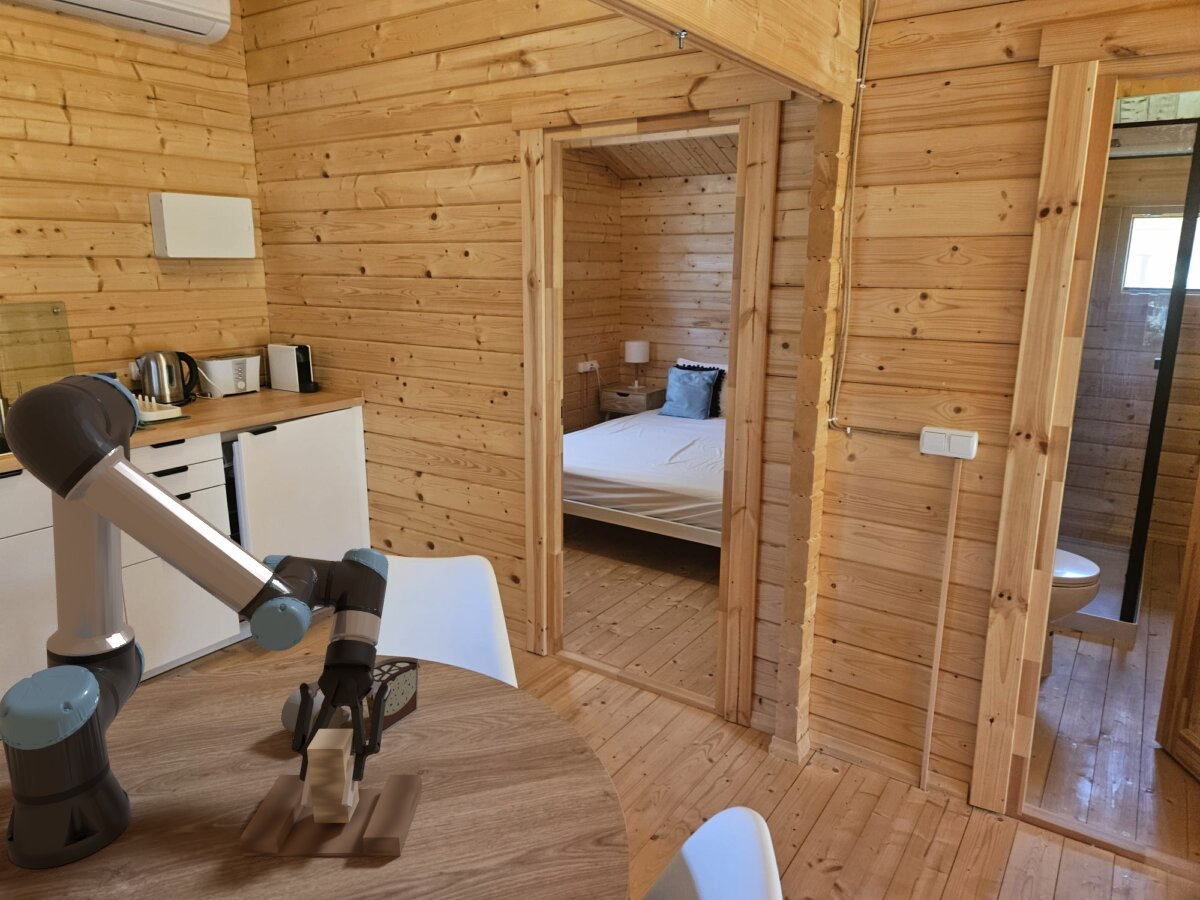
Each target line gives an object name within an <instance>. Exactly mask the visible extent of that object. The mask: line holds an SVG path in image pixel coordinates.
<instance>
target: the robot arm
mask: <svg viewBox="0 0 1200 900" xmlns="http://www.w3.org/2000/svg"><path fill="white" fill-rule="evenodd" d="M139 421H140V408H139V404H138V401H137V400H136V397H134V394H133V393H132V392H131V391H130V390H129V389H128V388H127V387H126V386H125V385H123V384H122V383H121V382H119V381H118V380H116V379H115V378H113V377H110V376H107V375H103V374H96V373H86V374H85V373H84V374H72V375H68V376H65V377H63V378H62V379H59V380H57V381H54V382H51V383H48V384H44V385H40V386H37V387H34V388H32V389H30V390H28V391H25V392H24V393H22V394H21V395H20V396H19V397H17V398H16V399H15V400H14V402H13V403H12V404H11V406H10V407H9V409H8V410H7V414H6V417H5V419H4V424H3V425H4V426H3V428H4V437H5V440H6V444H7V445H8V448H9V450H10V452H11V453H12V454H13V456H14V457H15V458H16V460H17V461H18V462H19V463H20V464H21V466H22V467H23V468H24V469H25V470H26V471H27V472H29V473H30V474H31V475H32V476H33V477H34V478H35V479H37V480H38V481H39V482H41V483H42V485H44V486H46V487H47V488H48V489H49V490H51V508H52V509H51V510H52V528H53V529H52V530H53V534H52V535H53V550H54V552H53V553H54V554H53V555H54V573H55V575H54V577H55V591H56V592H55V594H56V595H55V598H56V599H55V600H56V614H57V616H56V617H57V630H56V631H54V633H52V634H51V635H50V636H49V637H48V638H47V640H46V643H45V644H46V645H45V647H46V665H47V668H45V669H42V670H39V671H37V672H34V673H33V674H32V675H31V677H24V678H22V679H21V680H19V681H18V682H16V683H15V684H13V685H12V686H11V687H10V688H9V689H8V690H7V691H6V692H5V693H4V695H3V696H2V698H1V699H0V738H1V740H2V742H1V743H2V746H3V751H4V755H5V761H6V765H7V766H6V767H7V771H8V772H7V773H8V775H9V781H10V786H11V791H12V796H13V803H12V807H11V811H10V816H9V821H8V826H7V828H6V829H7V830H6V835H5V845H6V849H7V855H8V858H9V860H10V861H11V862H12V863H13V864H15V865H16V866H19V867H22V868H26V869H27V868H28V869H47V868H54V867H59V866H62V865H66V864H70V863H73V862H76V861H78V860H81V859H83V858H86V857H88V856H91V855H92V854H94V853H96V852H98V851H100V850H101V849H103V848H105V847H106V846H107V845H109V844H110V843H112V842H113V841H115V839H117V838H118V837H119V836H120V835H121V834H122V833H123V832H124V830H125V829H126V828H127V826H128V825H129V823H130V821H131V818H132V808H131V801H130V797H129V795H128V793H127V792H126V791H125V789H123V788H122V786H121V784H120V782H119V781H118V779H117V777H116V775H115V774H114V773H113V771H112V768H111V764H110V759H109V752H108V745H107V744H108V743H107V739H106V738H107V737H106V734H107V731H108V729H109V728H110V726H111V725H112V723H113V722H114V720H115V719H116V717H117V716H118V714H119V713H120V712H121V710H122V709H123V707H124V706H125V704H126V703H128V701H129V699H130V698H131V697H132V696H133V695H134V694H135V692H136V691H137V689H138V688H139V685H140V682H141V681H142V678H143V675H144V671H145V668H146V667H145V666H146V661H145V659H146V658H145V654H144V652H143V649H142V646H141V645H140V644H139V642H137V641H135V640H136V638H135V637H136V636H135V635H136V634H135V630H134V628H133V627H132V626H131V625H130V624H128V623H127V622H124V608H123V607H124V604H123V603H124V602H123V601H124V600H123V574H122V573H123V571H122V569H123V568H122V564H123V563H122V535H121V533H122V532H123V533H125V534H126V535H128V536H129V537H131V538H132V539H133V540H135V541H137V542H138V543H139V544H141V545H142V546H143V547H144V548H146V549H147V550H149V551H150V552H151V553H153V554H154V555H156V556H157V557H159V558H160V559H161V560H163V561H164V562H166V563H167V564H168V565H169V566H171V567H172V568H174V569H175V570H177V571H178V572H179V573H181V574H182V575H183V576H185V577H186V578H188V579H189V580H190V581H192V582H193V583H195V584H196V585H197V586H199V587H200V588H201V589H203V590H204V591H205V592H207V593H209V594H210V595H211V596H212V597H214V598H215V599H216V600H218V601H219V602H221V603H222V604H224V605H225V606H226V607H228V608H229V609H230V610H232V611H234V612H235V613H236V614H237V615H239V616H240V617H241V618H243V619H244V620H245V621H247V622H248V623H249V627H250V629H249V630H250V633H251V637H252V638H253V639H254V641H255V643H256V644H257V645H258V646H259V647H261V648H263V649H265V650H266V651H267V650H268V651H272V652H273V651H274V652H282V651H287V650H289V649H292V648H294V647H295V646H297V645H298V644H299V643H300V642H301V641H302V639H303V638H304V637H305V634H306V632H307V631H308V629H309V627H310V626H311V623H312V616H313V613H314V611H315V607H317V608H318V607H319V608H324V609H325V608H326V609H328V608H332V609H333V608H334V609H333V614H332V619H331V625H330V630H329V634H328V635H329V636H328V641H329V644H327V647H326V651H325V657H324V663H323V671H322V673H321V675H320V676H319V677H318V679H317V681H315V682H314V681H313V682H310V683H306V682H302V683H301V684H300V685H299V689H300V695H301V701H300V706H299V711H298V716H297V721H296V726H295V731H294V732H293V737H292V741H291V746H290V749H291V750H292V751H293V752H295V753H296V754H298V755H300V756H301V757H302V760H301V764H300V765H301V766H300V769H299V774H298V775H299V777H300V780H302V781H305V784H304V789H303V795H302V800H301V805H303V806H305V807H312V805H313V803H312V793H311V783H310V774H309V764H308V754H307V748H308V747H309V745H310V743H311V742H312V740H313V738H314V737H315V735H316V733H317V732H318V730H319V729H327V728H328V725H329V723H330V721H331V718H332V716H333V714H334V713H335V712H336V709H337V707H342V708H343V707H349V709H350V717H351V727H352V728H351V729H353V738H354V748H355V751H354V753H355V756H349V760H348V766H347V773H346V779H345V785H344V791H343V798H342V805H344V806H346V807H352V804H353V797H354V790H355V783H356V781H358V782H362V781H363V779H364V773H365V766H366V760H367V758H368V757H369V756H372V755H377V754H379V753H380V751H381V746H382V745H381V744H382V736H383V734H382V730H383V721H384V713H385V705H386V701H387V699H388V697H389V695H390V693H391V688H390V687H389V686H388V685H387V684H386V683H382V684H381V683H379V682H376V681H375V678H374V675H373V673H374V667H375V663H376V658H377V654H378V653H377V652H378V650H377V645H378V642H379V637H380V630H381V624H382V616H383V610H384V603H385V597H386V592H387V591H386V590H387V584H388V574H389V560H388V558H387V556H386V555H385V554H383V553H382V552H380V551H378V550H376V549H372V548H368V547H361V548H351V549H349V550H347V551H346V552H345V553H344V555H343V558H342V559H341V560H327V559H326V560H325V559H317V558H311V557H302V556H295V555H291V554H286V555H284V554H283V555H280V554H269V555H267V556H265V557H264V558H263V560H262V561H261V560H260V559H259V558H257V557H256V556H255V555H253V554H252V553H251V552H249V551H248V550H247V549H245V548H244V547H243V546H241V545H240V544H239V543H238V542H237V541H235V540H234V539H232V538H231V537H230V536H228V535H227V534H225V533H224V532H223V531H222V530H220V529H219V528H217V527H216V526H215V525H214V524H212V523H211V522H210V521H208V520H207V519H206V518H205V517H204V516H202V515H200V514H199V513H198V512H197V511H195V510H194V509H192V507H190V506H189V505H187V504H186V503H185V502H184V501H182V500H181V499H180V498H178V497H177V496H175V495H174V494H173V493H172V492H170V491H169V490H168V489H166V488H165V487H164V486H162V485H161V484H160V483H159V482H157V481H156V480H155V479H153V478H152V477H151V476H149V475H147V474H146V472H144V471H143V470H141V469H140V468H139V467H137V466H136V465H134V463H132V462H131V437H132V436H133V435H134V434H135V433H136V430H137V428H138V425H139ZM121 531H122V532H121ZM372 689H373V695H374V696H375V698H374V703H373V711H372V719H371V723H370V729H369V735H368V742H367V737H366V736H367V735H366V728H365V720H364V718H365V717H364V701H363V700H364V699H366V696H367V694H368V693H369V692H370V691H371V690H372ZM319 690H320V691H321V694H323V695H324V700H323V702H322V704H321V710H320V712H319V714H318V717H317V719H316V721H315V724H314V726H313V728H312V731H311V733H310V735H309V737H308V738H307V736H308V731H309V726H310V720H311V715H312V710H313V705H314V698H315V697H316V696H317V692H319ZM367 743H368V744H367Z"/></svg>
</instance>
